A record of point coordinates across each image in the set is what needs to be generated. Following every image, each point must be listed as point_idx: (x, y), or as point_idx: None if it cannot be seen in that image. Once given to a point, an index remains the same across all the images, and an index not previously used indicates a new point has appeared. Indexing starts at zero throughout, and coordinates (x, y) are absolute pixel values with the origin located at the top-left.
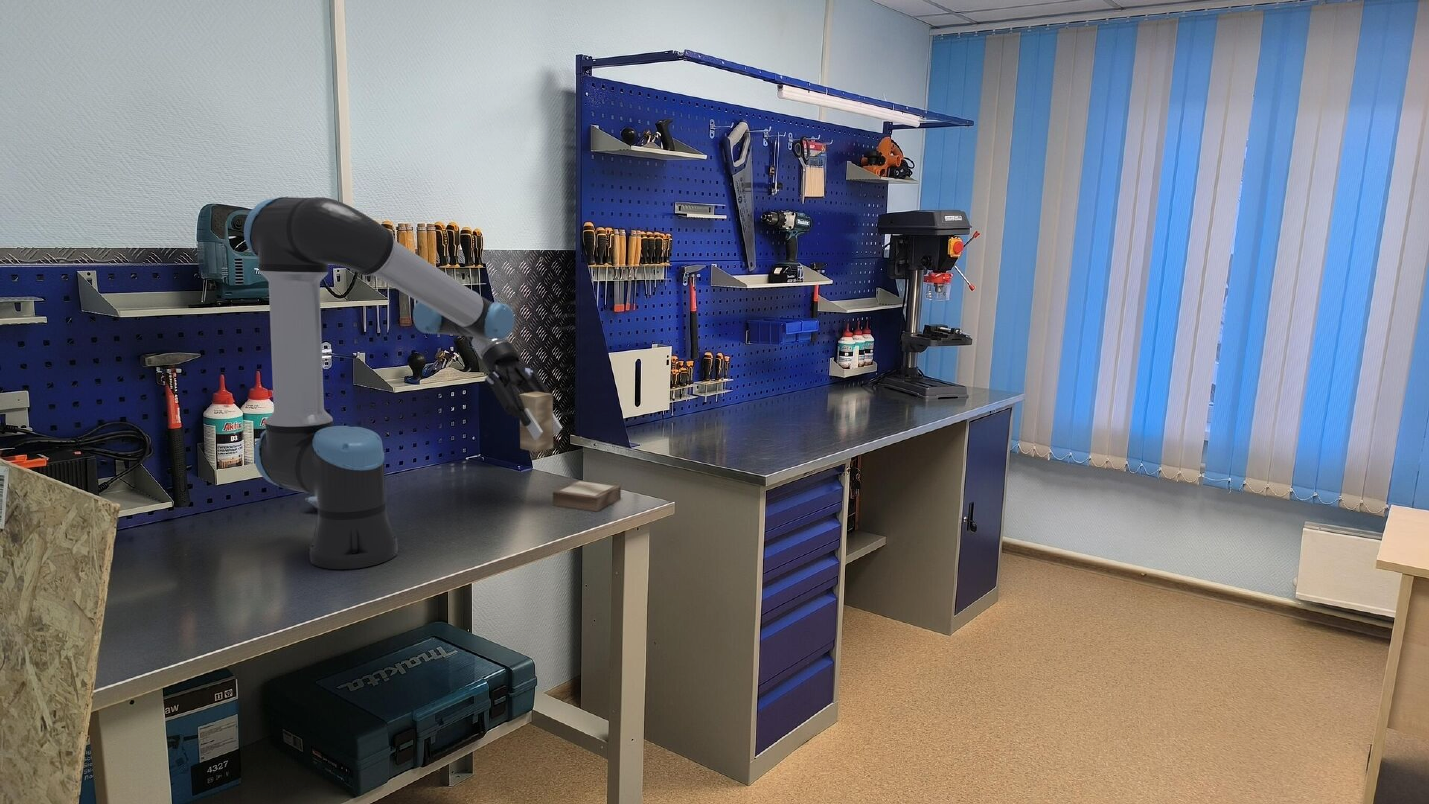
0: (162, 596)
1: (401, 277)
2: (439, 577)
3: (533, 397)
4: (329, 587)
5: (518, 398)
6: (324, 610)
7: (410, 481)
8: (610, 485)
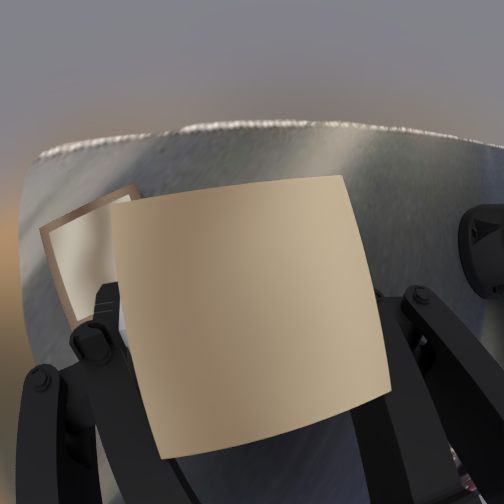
0: None
1: None
2: (434, 136)
3: (345, 200)
4: (495, 189)
5: (393, 357)
6: (493, 152)
7: None
8: (51, 241)
